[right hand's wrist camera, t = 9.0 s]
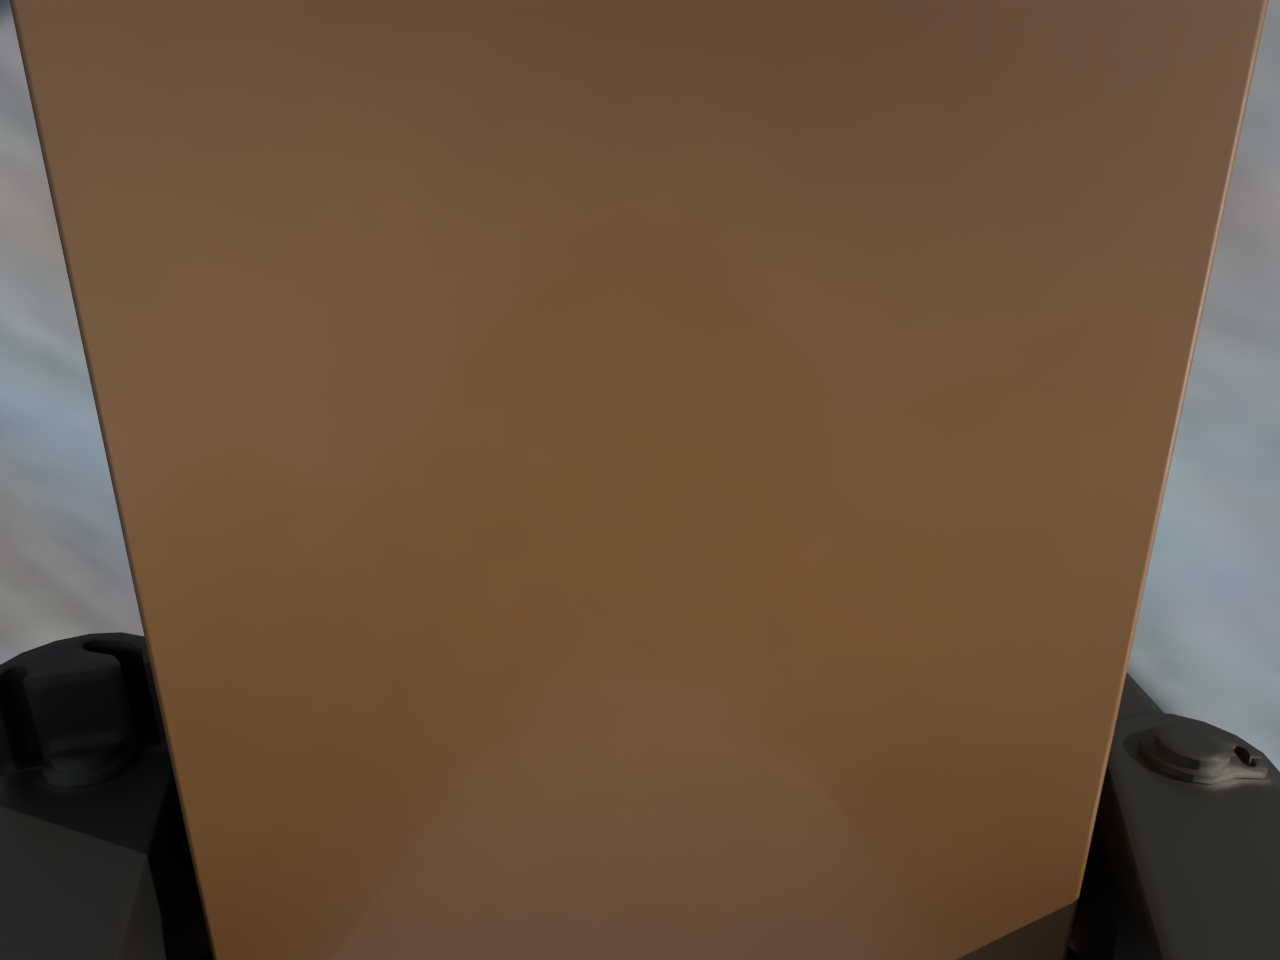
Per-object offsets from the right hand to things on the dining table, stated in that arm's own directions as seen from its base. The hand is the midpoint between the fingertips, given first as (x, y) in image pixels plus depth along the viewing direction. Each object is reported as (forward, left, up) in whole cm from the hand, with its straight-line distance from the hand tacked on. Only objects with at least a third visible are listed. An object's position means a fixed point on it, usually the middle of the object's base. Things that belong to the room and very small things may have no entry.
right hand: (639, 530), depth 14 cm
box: (+8, +2, -1) cm, 8 cm away
